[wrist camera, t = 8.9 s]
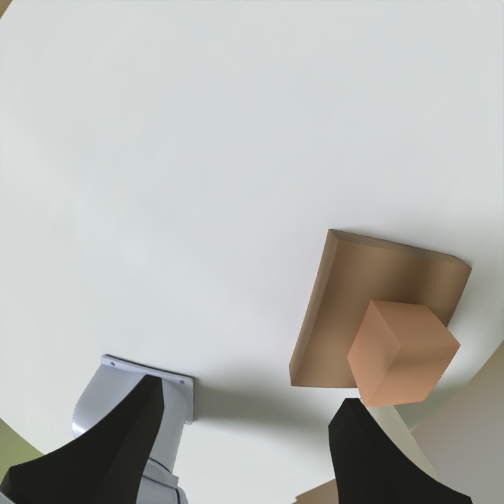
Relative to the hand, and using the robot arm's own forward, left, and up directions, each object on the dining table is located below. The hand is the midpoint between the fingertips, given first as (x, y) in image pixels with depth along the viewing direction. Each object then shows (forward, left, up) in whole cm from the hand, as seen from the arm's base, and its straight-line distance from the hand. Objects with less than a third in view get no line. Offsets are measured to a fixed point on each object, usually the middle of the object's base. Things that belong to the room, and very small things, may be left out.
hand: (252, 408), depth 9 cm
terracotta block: (+10, -1, -8) cm, 13 cm away
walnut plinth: (+10, -1, -11) cm, 15 cm away
